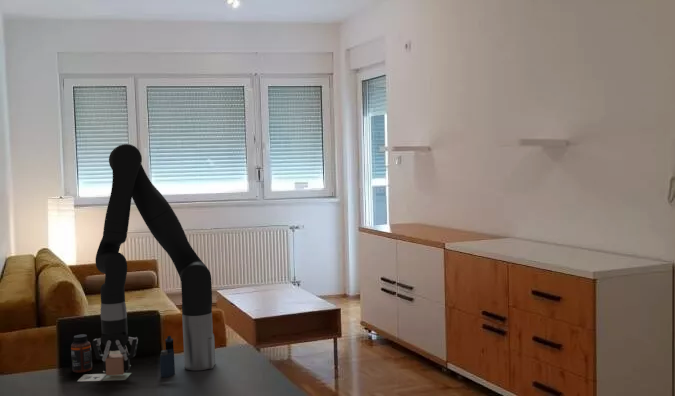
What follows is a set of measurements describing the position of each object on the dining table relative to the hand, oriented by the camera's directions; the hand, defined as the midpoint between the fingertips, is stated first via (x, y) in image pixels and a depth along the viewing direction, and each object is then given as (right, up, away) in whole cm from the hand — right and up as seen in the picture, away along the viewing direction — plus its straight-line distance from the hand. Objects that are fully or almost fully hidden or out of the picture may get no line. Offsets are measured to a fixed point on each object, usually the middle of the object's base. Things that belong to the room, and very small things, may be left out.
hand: (116, 371), depth 232 cm
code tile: (-7, -2, 0) cm, 8 cm away
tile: (-2, -1, +9) cm, 10 cm away
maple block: (-3, -1, +9) cm, 9 cm away
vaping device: (+16, -2, 0) cm, 16 cm away
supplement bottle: (-13, -2, +9) cm, 16 cm away
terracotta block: (0, 0, 0) cm, 0 cm away
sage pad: (0, -2, 0) cm, 2 cm away
